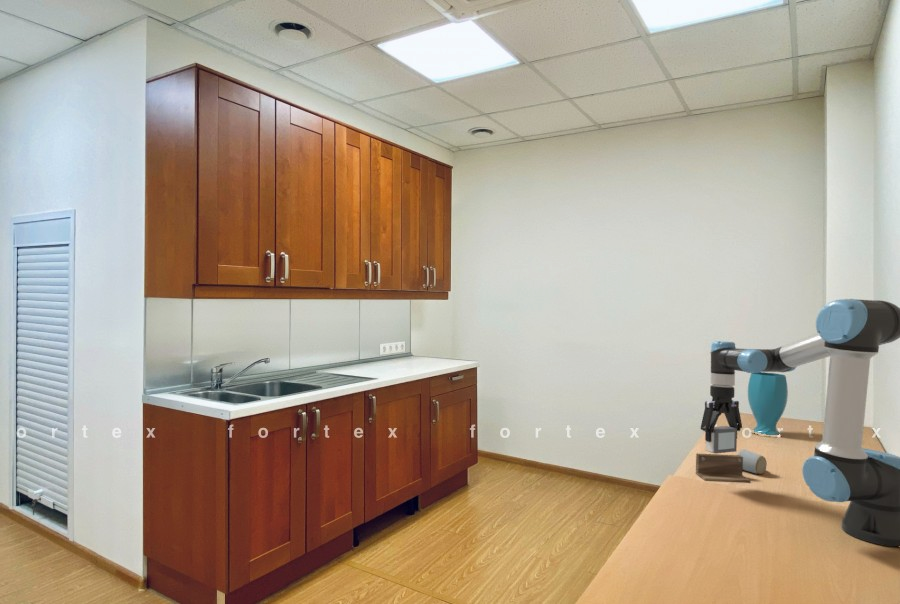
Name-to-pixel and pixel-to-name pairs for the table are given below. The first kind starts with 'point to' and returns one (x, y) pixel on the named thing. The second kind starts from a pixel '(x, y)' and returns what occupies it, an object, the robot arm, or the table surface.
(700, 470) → the wall rail
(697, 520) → the table surface
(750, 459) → the ceramic mug
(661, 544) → the table surface
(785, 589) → the table surface
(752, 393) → the vase
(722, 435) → the grey box
